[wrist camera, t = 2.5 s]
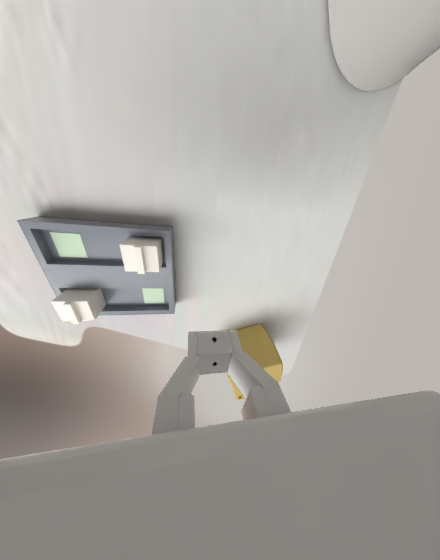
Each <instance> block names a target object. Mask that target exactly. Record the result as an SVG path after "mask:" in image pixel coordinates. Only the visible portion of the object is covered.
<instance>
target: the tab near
mask: <svg viewBox="0 0 440 560" xmlns="http://www.w3.org/2000/svg"><path fill="white" fill-rule="evenodd" d="M119 245H120V250H121V255H122V259H123V264H124V268H125V271H130V272H137V273H138V274H145V273H146V272H160V269H161V266H162V264H163V249H162V238H148V237H132V236H130V237H128V238H127V239H126V240H125V241H123V242H122V243H121V244H119Z"/></svg>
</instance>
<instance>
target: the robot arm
mask: <svg viewBox="0 0 440 560" xmlns="http://www.w3.org/2000/svg"><path fill="white" fill-rule="evenodd" d="M328 7H329V25H330V36H331V42H332V47H333V52H334V56H335V59H336V62H337V64H338V66H339V69H340V71H341V72H342V74H343V75H344V77H345V78H346V79H347V81H348V82H349V83H350V84H352V85H353V86H354V87H356V88H358V89H361V90H364V91H377V90H381V89H384V88H387V87H389V86H391V85H393V84H395V83H396V82H398V81H399V80H401V79H402V78H403V77H405V76H406V75H407V74H408V73H410V72H411V71H412V70H413V69H414V68H415V67H417V66H418V65H419V64H420V63H421V62H423V61H424V60H425V59H426V58H428V57H429V56H430V55H431V54H433V53H434V52H435V51H437V50H438V49H439V48H440V0H328ZM222 372H227V373H228V375H229V376H230V377H231V379H232V380H233V381H234V383H235V384H236V385H237V387H238V388H239V390H240V391H241V392H242V394H243V395H244V396H245V398H246V401H245V404H244V406H243V408H242V411H241V413H242V417H243V420H241V421H234V422H228V423H222V424H216V425H209V426H203V427H197V428H195V413H194V396H193V395H192V394H191V392H192V390H193V388H194V386H195V384H196V382H197V380H198V378H199V375H202V374H211V373H222ZM0 560H440V394H439V393H437V392H434V391H420V392H414V393H408V394H402V395H396V396H389V397H383V398H377V399H371V400H365V401H359V402H353V403H346V404H340V405H334V406H327V407H321V408H315V409H309V410H302V411H296V412H291V411H290V409H289V406H288V404H287V402H286V399H285V397H284V395H283V393H282V390H281V388H280V386H279V384H278V382H277V381H276V380H275V379H274V378H273V377H271V376H270V375H269V374H268V373H267V372H266V371H265V370H264V369H263V368H262V367H261V366H260V365H259V364H258V363H257V362H256V361H254V360H253V359H252V358H251V357H250V356H249V355H248V354H247V353H246V352H243V350H242V346H241V343H240V340H239V337H238V334H237V331H236V330H220V331H197V332H189V333H188V357H185V358H184V359H183V361H182V362H181V364H180V365H179V367H178V368H177V370H176V372H175V373H174V374H173V376H172V377H171V378H170V380H169V381H168V383H167V384H166V386H165V387H164V389H163V390H162V392H161V393H160V395H159V396H158V400H157V406H156V412H155V418H154V424H153V430H152V435H148V436H142V437H135V438H129V439H123V440H117V441H110V442H104V443H98V444H92V445H86V446H80V447H74V448H67V449H61V450H55V451H49V452H43V453H37V454H30V455H24V456H18V457H12V458H5V459H0Z"/></svg>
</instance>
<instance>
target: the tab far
mask: <svg viewBox="0 0 440 560" xmlns="http://www.w3.org/2000/svg"><path fill="white" fill-rule="evenodd" d="M51 302H52V304H53V306H54V308H55V310H56V311H57V313H58V315H59V317H60V319H61V321H71V322H72V324H79V323H80V322H81V321H86V320H95V319H96V318H97V316H98V315H99V314H100V312H101V311H102V310H103V308H104V307H105V306H106V302H105V299H104V296H103V293H102V290H101V288H68V289H66V290H65V291H64V292H63V293H61V294H60V295H59V296H58V297H56V298H55V299H54V300H53V301H51Z"/></svg>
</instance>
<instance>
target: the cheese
mask: <svg viewBox="0 0 440 560" xmlns="http://www.w3.org/2000/svg"><path fill="white" fill-rule="evenodd" d="M236 331H237V334H238V337H239V340H240V343H241V346H242V350H243V352H246V353H247V354H248V355H249V356H250V357H251V358H252V359H253V360H254V361H256V362H257V363H258V364H259V365H260V366H261V367H262V368H263V369H264V370H265V371H266V372H267V373H268V374H269V375H270V376H271V377H273V378H274V379H275V380H276V381H277V382H279V381H280V380H281V376H282V371H283V364H282V361H281V358H280V356H279V354H278V351H277V349H276V347H275V345H274V343H273V341H272V339H271V338H270V336H269V334H268V333H267V331H266V330H265V329H264V327H263V326H262V325H261V324H257V325H253V326H249V327H246V328H242V329H238V330H236ZM226 373H227V372H226ZM227 375H228V373H227ZM228 378H229V381H230V383H231V385H232V387H233V390H234V394H235V397H236V399H237V400H240V399H245V396H244V395H243V394H242V392H241V391H240V390H239V388H238V387H237V385H236V384H235V383H234V381H233V380H232V379H231V377H230V376H229V375H228Z"/></svg>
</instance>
